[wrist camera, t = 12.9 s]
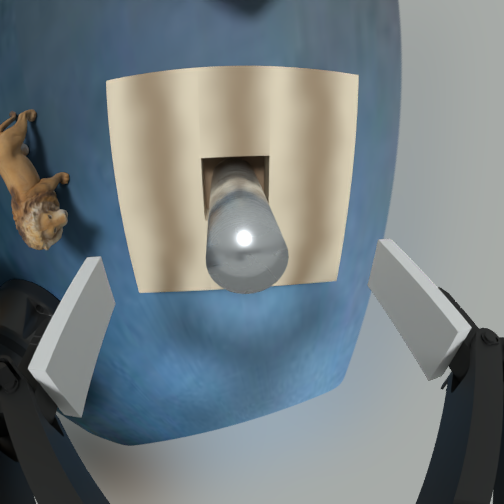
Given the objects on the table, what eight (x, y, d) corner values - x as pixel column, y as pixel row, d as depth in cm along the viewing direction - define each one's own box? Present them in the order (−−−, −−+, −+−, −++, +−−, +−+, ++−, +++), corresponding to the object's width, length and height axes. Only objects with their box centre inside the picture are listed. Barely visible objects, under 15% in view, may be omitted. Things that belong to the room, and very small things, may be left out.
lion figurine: (100, 198, 27) (61, 239, 19) (69, 225, 27) (31, 271, 20) (26, 94, 20) (-30, 104, 12) (0, 129, 20) (-53, 150, 13)
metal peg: (212, 200, 27) (209, 295, 15) (210, 159, 25) (202, 224, 13) (255, 198, 27) (285, 290, 15) (255, 157, 25) (290, 220, 13)
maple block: (146, 270, 31) (139, 292, 28) (121, 82, 21) (106, 80, 18) (324, 260, 33) (336, 280, 30) (340, 76, 23) (358, 75, 20)
